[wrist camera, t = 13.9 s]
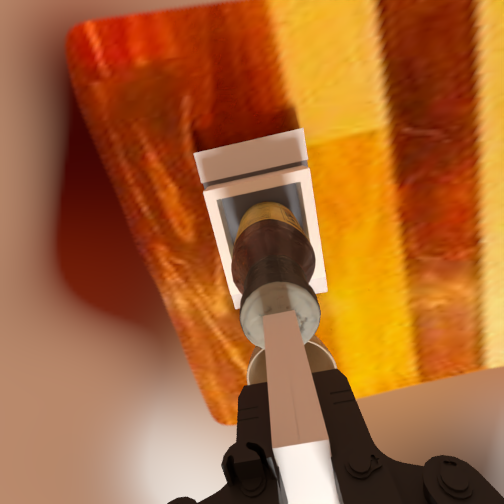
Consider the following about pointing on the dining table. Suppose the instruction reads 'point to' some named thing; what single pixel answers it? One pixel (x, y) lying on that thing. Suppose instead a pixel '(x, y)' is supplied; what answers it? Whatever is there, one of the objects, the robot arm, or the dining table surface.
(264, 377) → the flower pot
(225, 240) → the caddy
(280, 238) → the sauce bottle
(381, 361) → the dining table surface
